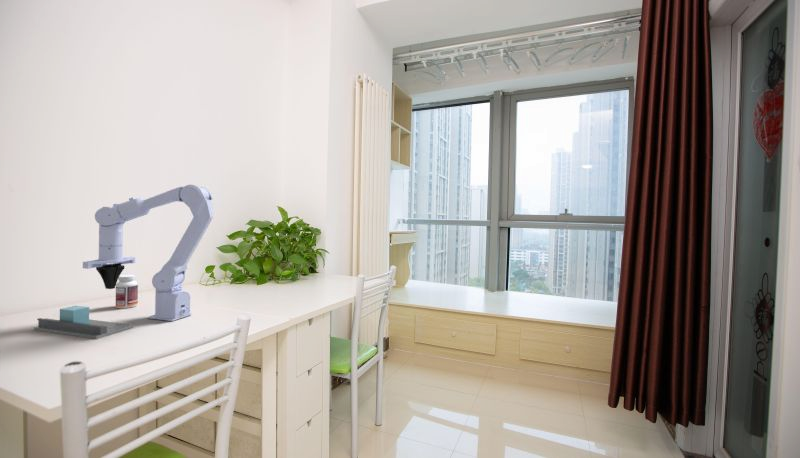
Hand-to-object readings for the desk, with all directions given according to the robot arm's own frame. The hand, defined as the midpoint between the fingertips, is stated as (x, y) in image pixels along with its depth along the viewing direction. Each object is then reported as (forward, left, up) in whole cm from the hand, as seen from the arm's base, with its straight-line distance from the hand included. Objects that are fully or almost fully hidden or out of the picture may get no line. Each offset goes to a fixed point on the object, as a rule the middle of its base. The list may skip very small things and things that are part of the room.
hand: (110, 288), depth 109 cm
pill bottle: (+8, -12, -10) cm, 17 cm away
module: (-1, +10, -9) cm, 14 cm away
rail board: (-4, +10, -9) cm, 14 cm away
